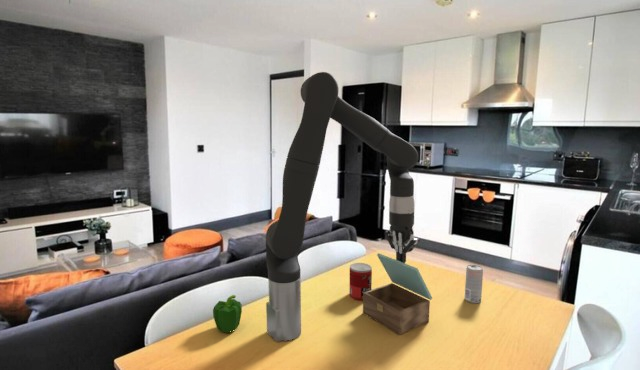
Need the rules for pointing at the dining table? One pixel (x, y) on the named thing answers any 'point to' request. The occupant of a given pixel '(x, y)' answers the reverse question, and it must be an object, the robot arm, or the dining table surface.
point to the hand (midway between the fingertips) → (401, 263)
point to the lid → (405, 276)
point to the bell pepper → (227, 314)
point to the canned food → (360, 280)
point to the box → (396, 308)
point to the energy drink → (473, 283)
